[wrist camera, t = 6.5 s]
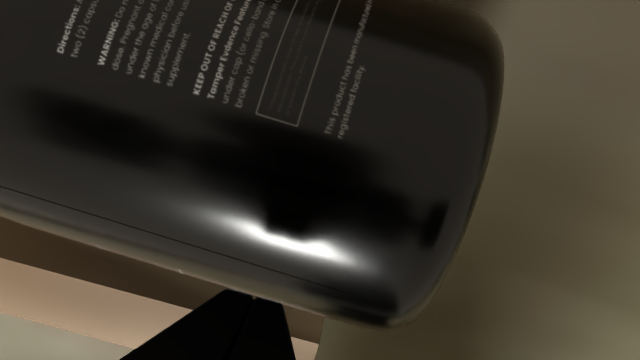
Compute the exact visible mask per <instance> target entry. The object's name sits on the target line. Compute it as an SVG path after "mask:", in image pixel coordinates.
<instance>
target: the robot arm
mask: <svg viewBox="0 0 640 360" xmlns="http://www.w3.org/2000/svg"><path fill="white" fill-rule="evenodd" d="M120 360H296V357H295V353H294V349H293V344H292V340H291V336H290V332H289V327H288V323H287V319H286V314H285V310H284V307H283V305H282V303H280V302H278V301H274V300H270V299H267V298H263V297H256V298H255V299H254V300H253V296H252V295H251V294H248V293H244V292H241V291H237V290H233V289H224V290H223V291H221V292H220V293H218V294H217V295H215V296H214V297H212V298H211V299H209V300H208V301H206V302H205V303H203V304H202V305H200V306H199V307H197V308H196V309H194V310H193V311H191V312H190V313H188V314H187V315H185V316H184V317H182V318H181V319H179V320H178V321H176V322H175V323H173V324H172V325H170V326H169V327H167V328H166V329H164V330H163V331H161V332H160V333H158V334H157V335H155V336H154V337H152V338H151V339H149V340H148V341H146V342H145V343H143V344H142V345H140V346H139V347H137V348H136V349H134V350H133V351H132V352H130V353H129V354H127V355H126V356H124V357H123V358H121V359H120Z"/></svg>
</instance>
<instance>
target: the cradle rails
mask: <svg viewBox="0 0 640 360" xmlns="http://www.w3.org/2000/svg"><path fill="white" fill-rule="evenodd" d="M224 289H230V288H227V287H223V286H220V285H217V284H213V283H210V282H207V281H204V280H200V279H197V278H194V277H191V276H187V275H184V274H181V273H177V272H174V271H171V270H168V269H164V268H161V267H158V266H155V265H151V264H148V263H145V262H141V261H138V260H135V259H132V258H128V257H125V256H122V255H118V254H115V253H112V252H109V251H105V250H102V249H99V248H96V247H92V246H89V245H86V244H82V243H79V242H76V241H73V240H69V239H66V238H63V237H60V236H56V235H53V234H50V233H47V232H43V231H40V230H37V229H34V228H30V227H27V226H24V225H21V224H19V223H16V222H13V221H10V220H8V219H5V218H2V217H0V312H2V313H5V314H9V315H13V316H16V317H20V318H24V319H27V320H31V321H34V322H38V323H42V324H45V325H49V326H53V327H56V328H60V329H64V330H67V331H71V332H75V333H78V334H82V335H86V336H89V337H93V338H97V339H100V340H104V341H108V342H111V343H115V344H118V345H122V346H126V347H129V348H133V349H136V348H137V347H139V346H140V345H142V344H143V343H145V342H146V341H148V340H149V339H151V338H152V337H154V336H155V335H157V334H158V333H160V332H161V331H163V330H164V329H166V328H167V327H169V326H170V325H172V324H173V323H175V322H176V321H178V320H179V319H181V318H182V317H184V316H185V315H187V314H188V313H190V312H191V311H193V310H194V309H196V308H197V307H199V306H200V305H202V304H203V303H205V302H206V301H208V300H209V299H211V298H212V297H214V296H215V295H217V294H218V293H220V292H221V291H223V290H224ZM252 296H253V295H252ZM255 298H256V296H253V300H254V299H255ZM283 307H284V310H285V314H286V319H287V323H288V327H289V332H290V336H291V340H292V344H293V349H294V353H295V357H296V360H314V359H315V356H316V352H317V349H318V346H319V341H320V336H321V331H322V325H323V320H324V317H322V316H318V315H315V314H312V313H309V312H305V311H302V310H299V309H295V308H292V307H289V306H286V305H283Z"/></svg>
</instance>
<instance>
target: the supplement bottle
mask: <svg viewBox="0 0 640 360" xmlns="http://www.w3.org/2000/svg"><path fill="white" fill-rule="evenodd" d="M503 82H504V54H503V47H502V44H501V40H500V38H499V36H498V34H497V32H496V31H495V29H494V28H493V26H492V25H491V24H490V23H489V22H488V21H487V20H486V19H485V18H483V17H482V16H480V15H479V14H476V13H474V12H471V11H469V10H466V9H463V8H460V7H457V6H454V5H451V4H448V3H444V2H441V1H438V0H0V217H2V218H5V219H8V220H10V221H13V222H16V223H19V224H21V225H24V226H27V227H30V228H34V229H37V230H40V231H43V232H47V233H50V234H53V235H56V236H60V237H63V238H66V239H69V240H73V241H76V242H79V243H82V244H86V245H89V246H92V247H96V248H99V249H102V250H105V251H109V252H112V253H115V254H118V255H122V256H125V257H128V258H132V259H135V260H138V261H141V262H145V263H148V264H151V265H155V266H158V267H161V268H164V269H168V270H171V271H174V272H177V273H181V274H184V275H187V276H191V277H194V278H197V279H200V280H204V281H207V282H210V283H213V284H217V285H220V286H223V287H227V288H230V289H233V290H237V291H241V292H244V293H248V294H251V295H253V296H256V297H263V298H267V299H270V300H274V301H278V302H280V303H282V305H286V306H289V307H292V308H295V309H299V310H302V311H305V312H309V313H312V314H315V315H318V316H322V317H325V318H330V319H333V320H336V321H340V322H343V323H347V324H350V325H354V326H357V327H360V328H364V329H368V330H373V331H378V332H389V331H394V330H397V329H400V328H403V327H405V326H407V325H408V324H410V323H412V322H413V321H414V320H415V319H416V318H417V317H419V315H420V314H421V313H422V312H423V311H424V309H425V308H426V307H427V306H428V304H429V303H430V301H431V300H432V298H433V297H434V295H435V293H436V292H437V290H438V289H439V287H440V285H441V283H442V281H443V279H444V278H445V276H446V274H447V272H448V270H449V268H450V266H451V264H452V261H453V259H454V257H455V255H456V252H457V250H458V248H459V246H460V243H461V241H462V238H463V236H464V233H465V231H466V228H467V226H468V223H469V220H470V218H471V215H472V212H473V209H474V206H475V203H476V201H477V198H478V195H479V191H480V188H481V185H482V182H483V179H484V175H485V172H486V168H487V165H488V161H489V157H490V153H491V149H492V146H493V142H494V137H495V132H496V128H497V123H498V118H499V112H500V107H501V100H502V93H503Z"/></svg>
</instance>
